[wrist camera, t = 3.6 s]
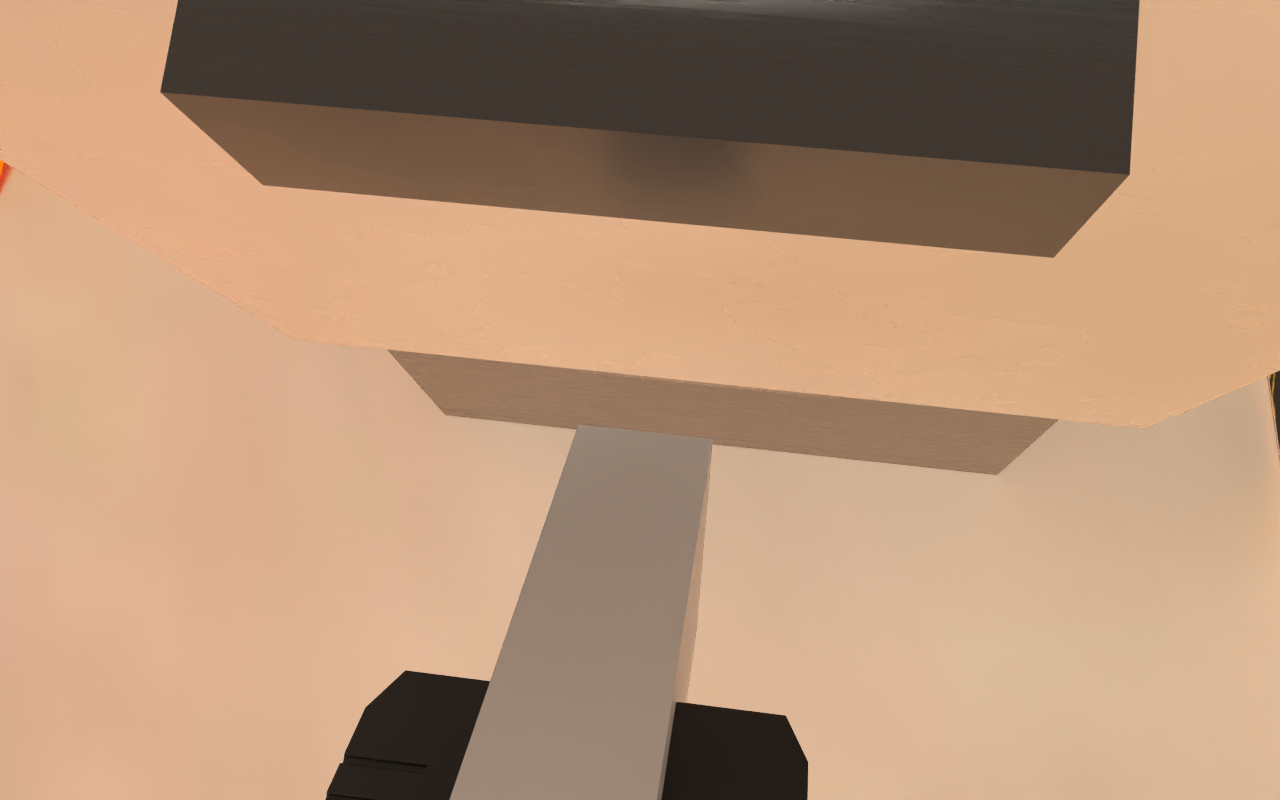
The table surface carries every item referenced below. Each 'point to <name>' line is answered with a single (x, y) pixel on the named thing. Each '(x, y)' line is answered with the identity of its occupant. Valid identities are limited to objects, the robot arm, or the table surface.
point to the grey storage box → (726, 414)
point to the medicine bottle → (1275, 402)
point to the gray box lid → (699, 183)
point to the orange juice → (0, 165)
